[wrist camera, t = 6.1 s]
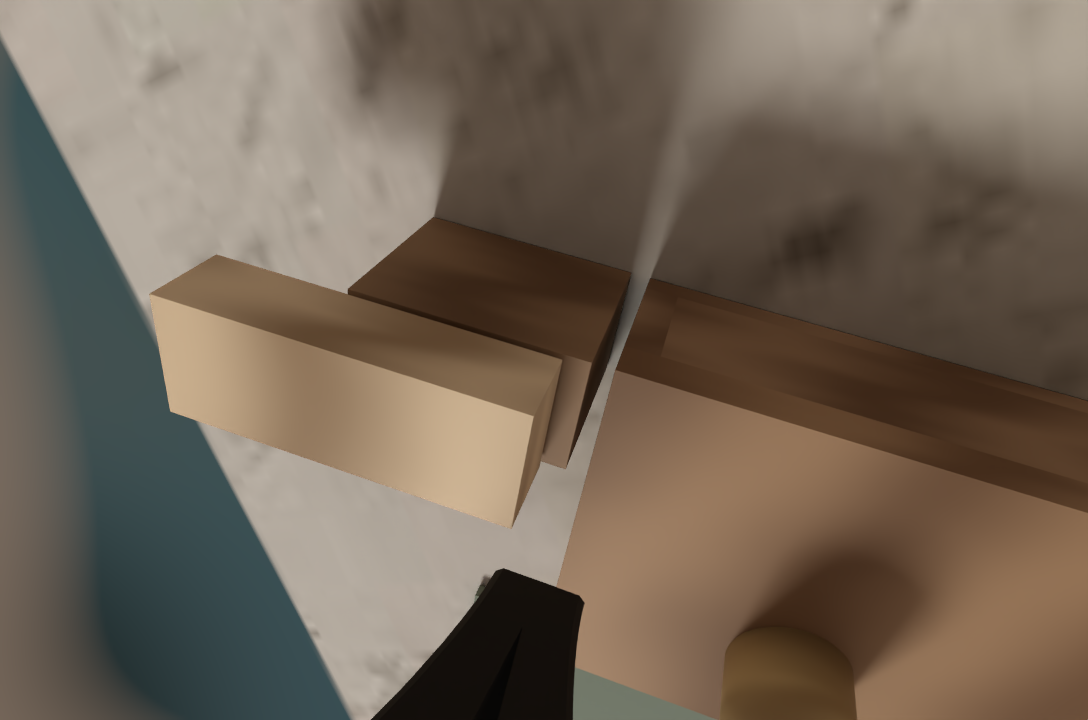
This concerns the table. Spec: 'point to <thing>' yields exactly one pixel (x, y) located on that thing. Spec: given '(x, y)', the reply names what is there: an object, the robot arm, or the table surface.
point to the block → (357, 385)
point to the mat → (619, 700)
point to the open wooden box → (710, 347)
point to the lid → (821, 561)
